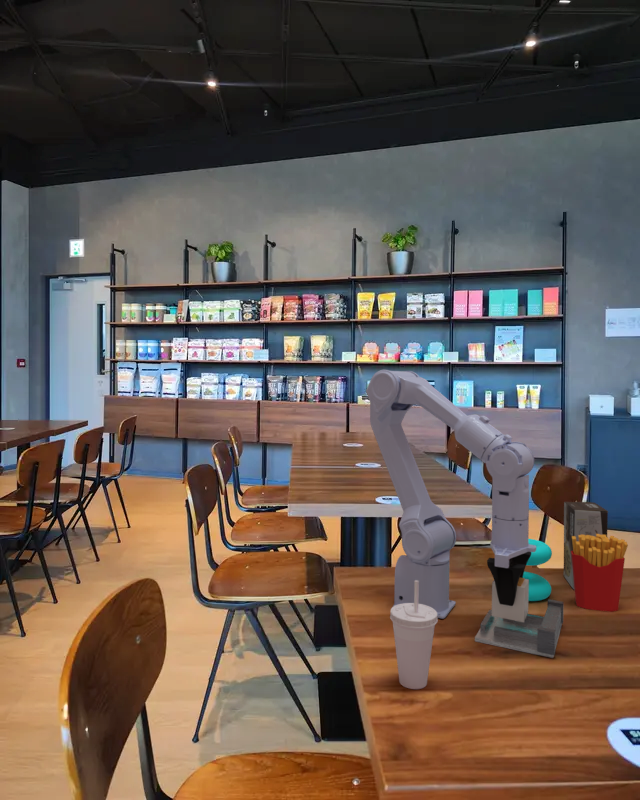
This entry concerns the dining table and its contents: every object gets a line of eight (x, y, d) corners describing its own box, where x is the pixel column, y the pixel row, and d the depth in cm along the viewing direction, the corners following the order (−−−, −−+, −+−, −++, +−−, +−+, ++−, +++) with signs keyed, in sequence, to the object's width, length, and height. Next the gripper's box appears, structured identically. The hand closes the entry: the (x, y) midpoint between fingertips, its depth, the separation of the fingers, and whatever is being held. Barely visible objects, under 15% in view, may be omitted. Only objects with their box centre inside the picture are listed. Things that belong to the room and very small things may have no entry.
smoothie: (407, 699, 72) (409, 591, 72) (380, 676, 78) (381, 576, 78) (447, 687, 75) (448, 583, 75) (417, 666, 81) (418, 569, 81)
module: (491, 615, 92) (492, 580, 92) (497, 606, 96) (497, 573, 96) (523, 622, 90) (524, 586, 89) (528, 612, 94) (528, 578, 93)
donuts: (560, 550, 104) (505, 549, 105) (559, 604, 105) (504, 603, 105) (541, 536, 114) (491, 535, 115) (540, 585, 115) (490, 584, 115)
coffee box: (607, 592, 111) (609, 510, 110) (572, 590, 112) (573, 509, 111) (594, 577, 119) (596, 501, 119) (562, 575, 121) (563, 500, 120)
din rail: (474, 641, 89) (474, 616, 89) (492, 611, 101) (492, 589, 101) (554, 659, 83) (554, 632, 83) (563, 625, 95) (563, 601, 95)
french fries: (572, 607, 103) (573, 536, 103) (569, 599, 107) (570, 531, 107) (628, 613, 100) (629, 541, 100) (623, 604, 104) (624, 535, 104)
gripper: (529, 529, 84) (528, 619, 84) (541, 511, 97) (541, 589, 97) (481, 524, 87) (480, 610, 88) (499, 506, 100) (498, 582, 101)
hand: (509, 599), depth 93 cm, fingers closed on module, 4 cm apart
